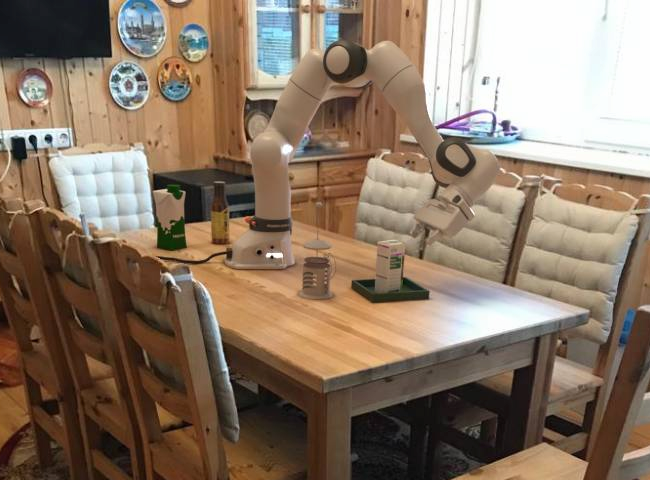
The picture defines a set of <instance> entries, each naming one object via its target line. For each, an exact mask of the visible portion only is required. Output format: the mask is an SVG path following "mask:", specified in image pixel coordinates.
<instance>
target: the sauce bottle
mask: <svg viewBox="0 0 650 480" xmlns="http://www.w3.org/2000/svg"><path fill="white" fill-rule="evenodd" d="M212 183H213V184H212V185H213V198H212V199H211V202H210V229H211V233H210V234H211V242H212V243H213V244H217V245H225V244H228V243H230V237H231V236H230V235H231V234H230V205H229V202H228V200H227V196H226V181H220V180H219V181H218V180H217V181H213V182H212Z"/></svg>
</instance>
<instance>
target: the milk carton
mask: <svg viewBox="0 0 650 480" xmlns="http://www.w3.org/2000/svg"><path fill="white" fill-rule="evenodd" d="M180 187H181V185H180V184H175V183H170V184H167V185H166V188H164V189H157V190H152V194H153V196H152V197H153V199H154V203H155V215H156V230H157V231H156V233H157V234H156V248H159V249H164V250H168V251H175V250H180V249H186V248H187V247H188V246H187V237H186V225H185V224H186V223H185V222H186V221H185V199H186V194H187V193H186V191H184V190H181V188H180Z"/></svg>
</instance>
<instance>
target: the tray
mask: <svg viewBox="0 0 650 480" xmlns="http://www.w3.org/2000/svg"><path fill="white" fill-rule="evenodd" d="M350 283H351V285H350V288H351V289H352V290H353V291H355V292H356V293H357V294H358V295H360V296H361V297H363V298H365V299H366V300H367V301H369V302H370V303H372V304H377V303H390V302H391V303H393V302H407V301H408V302H409V301H421V300H430V293H431V291H430V289H427V288H426V287H424V286H422V285H420V284H419V283H417V282H416V281H413V280H412V279H410V278H408V277H407V276H403V284H402V292H391V293H376V292H375V278H366V279H365V278H364V279H363V278H362V279H351V282H350Z"/></svg>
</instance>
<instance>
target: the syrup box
mask: <svg viewBox="0 0 650 480" xmlns="http://www.w3.org/2000/svg"><path fill="white" fill-rule="evenodd" d="M405 255H406V242H405V241H404V242H403V241H401V240H398V239H388V240H382V241H377V243H376V259H375V260H376V262H375V276H374V277H375V278H374V279H375V292H376V293H391V292H402V284H403V277H404V271H405V270H404V268H405Z"/></svg>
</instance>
